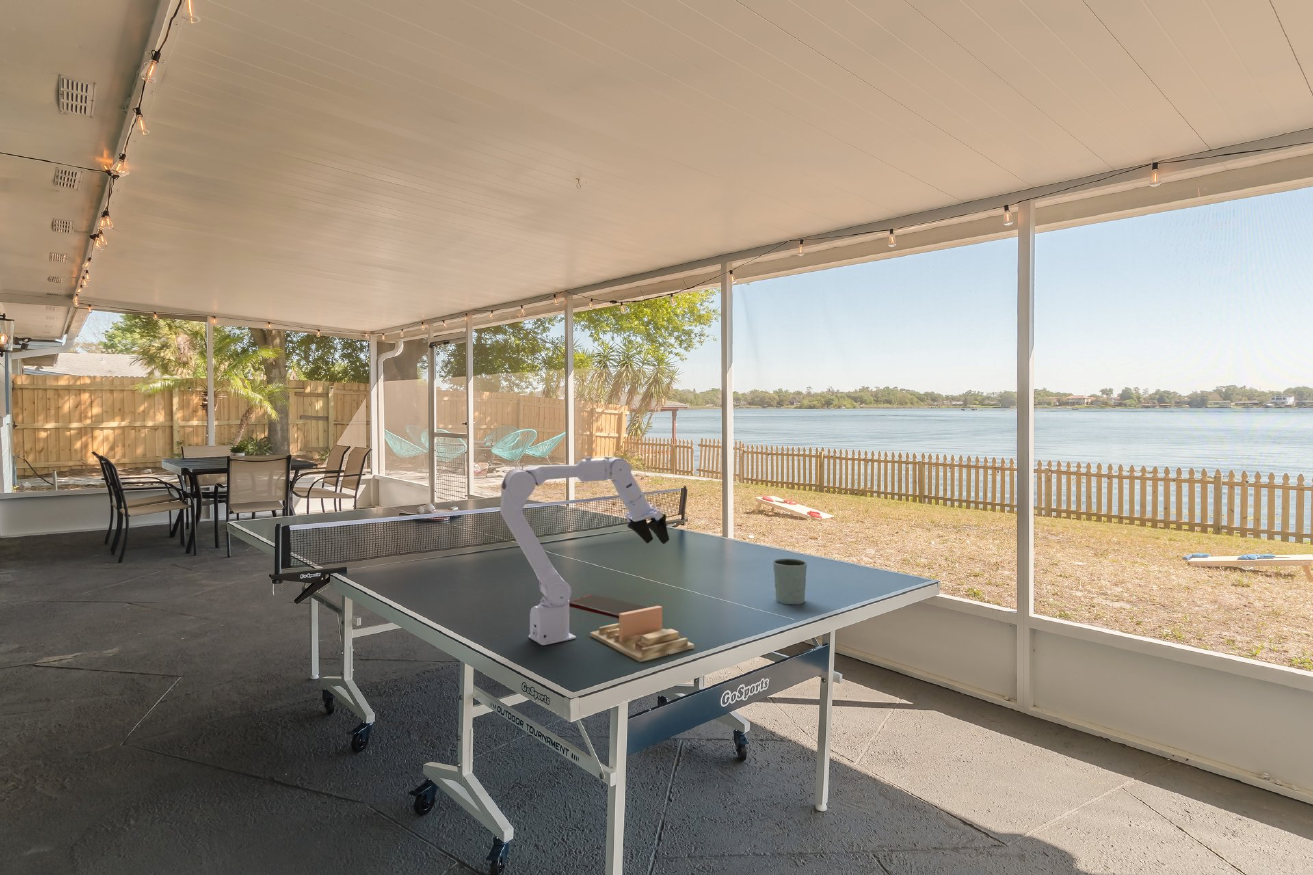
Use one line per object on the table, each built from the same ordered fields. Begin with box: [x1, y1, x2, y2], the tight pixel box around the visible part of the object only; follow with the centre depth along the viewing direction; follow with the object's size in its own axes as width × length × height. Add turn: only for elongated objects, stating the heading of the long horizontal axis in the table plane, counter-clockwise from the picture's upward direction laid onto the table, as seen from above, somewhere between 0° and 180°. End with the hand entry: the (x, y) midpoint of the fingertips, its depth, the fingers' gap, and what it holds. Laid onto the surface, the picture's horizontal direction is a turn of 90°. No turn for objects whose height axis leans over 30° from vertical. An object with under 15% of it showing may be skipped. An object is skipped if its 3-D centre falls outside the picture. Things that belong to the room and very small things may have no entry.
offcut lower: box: [635, 636, 682, 651], centre depth 164 cm, size 11×4×2 cm, turn 126°
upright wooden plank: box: [618, 605, 663, 643], centre depth 170 cm, size 12×2×7 cm, turn 126°
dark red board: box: [569, 593, 650, 619], centre depth 199 cm, size 12×2×25 cm
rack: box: [589, 622, 695, 663], centre depth 170 cm, size 16×22×2 cm
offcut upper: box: [641, 628, 680, 645], centre depth 164 cm, size 9×3×2 cm, turn 126°
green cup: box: [772, 558, 808, 605], centre depth 208 cm, size 10×10×12 cm
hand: (657, 541), depth 181 cm, fingers open, 7 cm apart
